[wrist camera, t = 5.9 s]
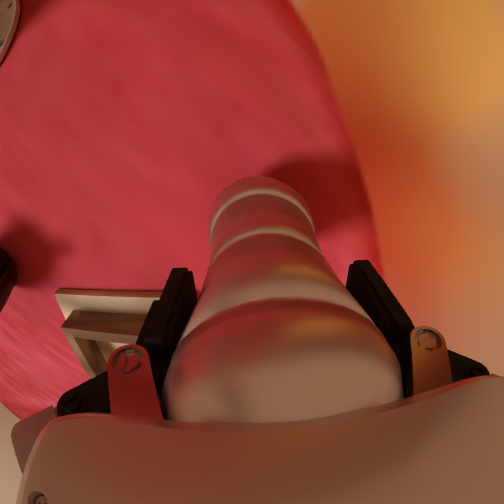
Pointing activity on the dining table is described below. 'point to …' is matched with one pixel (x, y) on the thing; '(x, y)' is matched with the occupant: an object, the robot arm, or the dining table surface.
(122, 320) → the bottle stand
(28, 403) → the dining table surface
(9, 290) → the mug
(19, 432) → the robot arm
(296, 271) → the plastic bottle
